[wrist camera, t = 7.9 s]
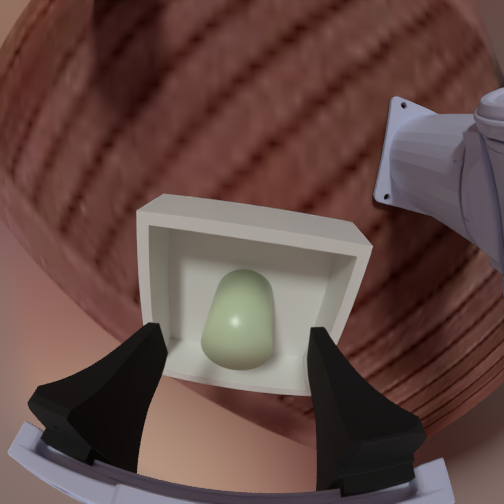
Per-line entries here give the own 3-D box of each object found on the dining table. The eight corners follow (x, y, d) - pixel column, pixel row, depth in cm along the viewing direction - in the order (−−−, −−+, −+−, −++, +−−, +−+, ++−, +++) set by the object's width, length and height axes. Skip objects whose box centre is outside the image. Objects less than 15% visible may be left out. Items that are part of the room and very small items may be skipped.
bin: (352, 222, 19) (373, 246, 15) (307, 359, 25) (312, 396, 21) (163, 193, 19) (136, 210, 15) (165, 338, 25) (150, 371, 21)
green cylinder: (267, 265, 20) (265, 315, 15) (277, 312, 22) (277, 367, 17) (210, 274, 21) (191, 323, 15) (225, 318, 23) (212, 372, 17)
